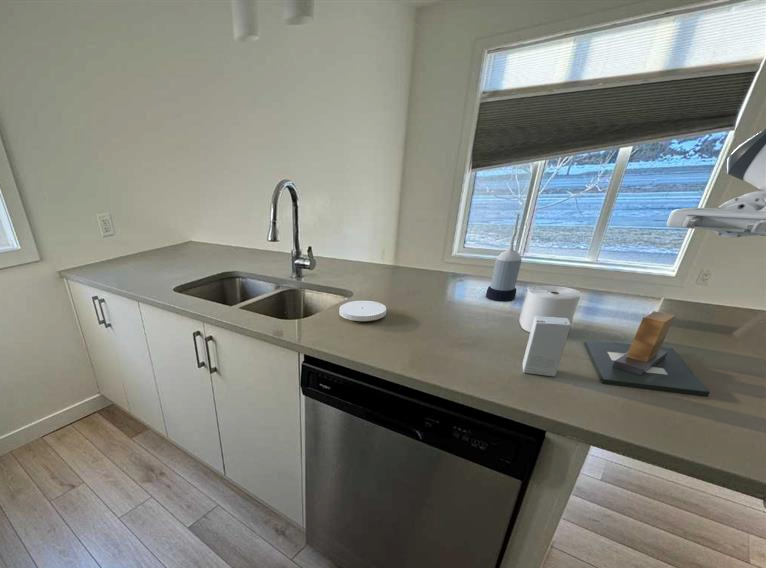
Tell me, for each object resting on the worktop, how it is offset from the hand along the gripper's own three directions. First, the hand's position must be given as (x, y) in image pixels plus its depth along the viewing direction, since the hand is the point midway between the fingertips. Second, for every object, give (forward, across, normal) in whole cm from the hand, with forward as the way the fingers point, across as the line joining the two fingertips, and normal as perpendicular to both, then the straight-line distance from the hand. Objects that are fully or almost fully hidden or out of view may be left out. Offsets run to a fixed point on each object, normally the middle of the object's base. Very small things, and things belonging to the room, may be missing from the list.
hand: (718, 226), depth 86 cm
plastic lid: (+44, -59, +25) cm, 78 cm away
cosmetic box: (+40, -9, +25) cm, 49 cm away
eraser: (+24, +2, +24) cm, 34 cm away
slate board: (+24, +3, +25) cm, 34 cm away
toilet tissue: (+17, -20, +25) cm, 37 cm away
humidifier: (+2, -41, +25) cm, 48 cm away
